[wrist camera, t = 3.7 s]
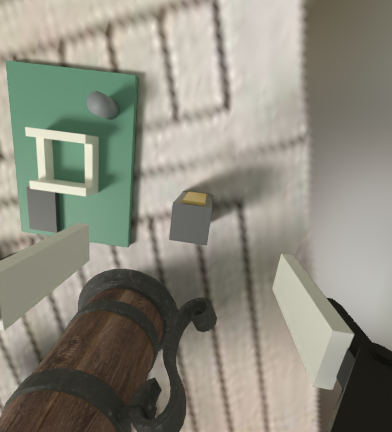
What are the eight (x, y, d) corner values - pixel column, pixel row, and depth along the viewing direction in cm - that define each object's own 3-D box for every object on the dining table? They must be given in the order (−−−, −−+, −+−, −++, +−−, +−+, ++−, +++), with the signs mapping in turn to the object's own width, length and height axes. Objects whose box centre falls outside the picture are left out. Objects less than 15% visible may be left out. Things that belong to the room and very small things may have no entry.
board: (130, 244, 33) (119, 256, 29) (27, 229, 33) (2, 238, 29) (138, 78, 27) (125, 64, 23) (12, 63, 27) (-21, 48, 24)
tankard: (106, 365, 39) (1, 568, 20) (59, 286, 36) (-124, 438, 16) (232, 334, 35) (253, 547, 16) (194, 241, 32) (163, 372, 12)
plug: (208, 223, 31) (206, 245, 23) (180, 219, 31) (169, 239, 23) (212, 193, 30) (212, 206, 22) (183, 189, 30) (173, 200, 22)
